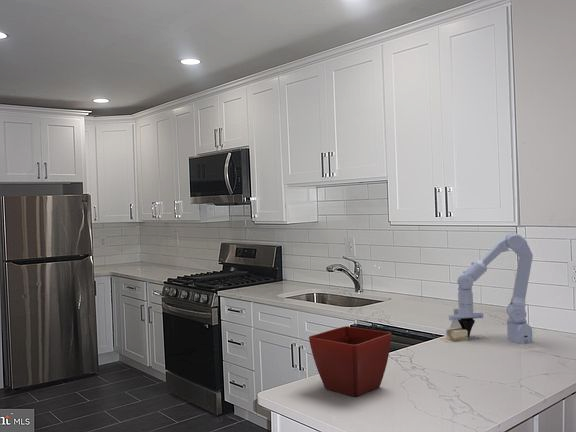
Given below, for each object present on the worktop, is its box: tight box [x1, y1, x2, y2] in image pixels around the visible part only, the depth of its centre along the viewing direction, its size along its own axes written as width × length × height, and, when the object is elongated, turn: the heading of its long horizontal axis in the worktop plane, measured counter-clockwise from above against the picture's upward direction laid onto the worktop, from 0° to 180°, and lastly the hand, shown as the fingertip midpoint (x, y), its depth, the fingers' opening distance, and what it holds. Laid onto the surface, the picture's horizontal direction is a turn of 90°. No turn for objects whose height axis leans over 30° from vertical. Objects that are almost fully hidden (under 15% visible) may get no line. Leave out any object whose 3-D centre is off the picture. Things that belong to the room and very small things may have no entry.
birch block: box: [445, 327, 468, 343], centre depth 220 cm, size 6×6×4 cm
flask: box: [449, 308, 462, 328], centre depth 240 cm, size 7×7×10 cm
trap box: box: [439, 334, 489, 343], centre depth 221 cm, size 7×18×2 cm, turn 102°
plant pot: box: [308, 325, 392, 397], centre depth 169 cm, size 19×19×17 cm
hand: (466, 336), depth 221 cm, fingers closed
